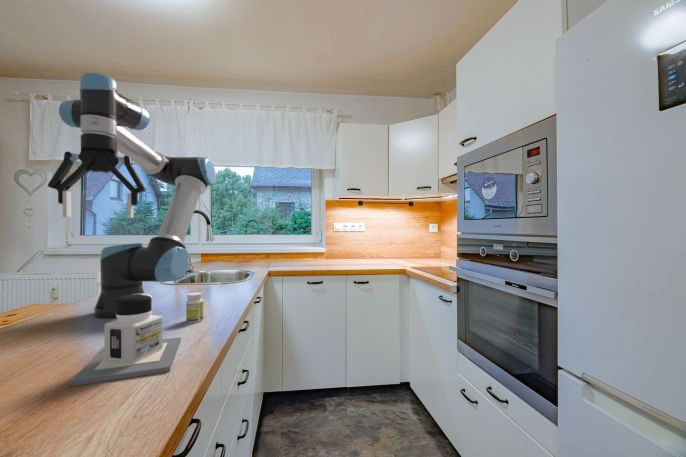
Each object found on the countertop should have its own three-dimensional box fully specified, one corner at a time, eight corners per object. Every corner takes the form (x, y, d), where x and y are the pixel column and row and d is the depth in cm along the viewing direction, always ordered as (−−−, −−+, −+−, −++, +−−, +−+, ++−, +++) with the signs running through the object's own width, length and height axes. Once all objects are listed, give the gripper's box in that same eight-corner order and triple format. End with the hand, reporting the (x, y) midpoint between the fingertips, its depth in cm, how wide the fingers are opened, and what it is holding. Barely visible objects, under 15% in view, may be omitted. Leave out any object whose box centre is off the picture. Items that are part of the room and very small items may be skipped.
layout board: (104, 350, 74) (104, 345, 74) (180, 341, 80) (180, 336, 80) (70, 386, 57) (70, 379, 57) (169, 371, 63) (169, 365, 63)
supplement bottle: (198, 317, 100) (198, 291, 100) (206, 320, 98) (206, 293, 98) (183, 321, 97) (183, 294, 96) (191, 323, 94) (191, 296, 94)
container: (134, 363, 64) (134, 300, 64) (103, 360, 65) (103, 298, 65) (163, 349, 71) (163, 292, 71) (134, 346, 73) (134, 291, 73)
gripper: (29, 126, 73) (29, 216, 73) (151, 137, 82) (152, 217, 83) (45, 134, 80) (46, 217, 80) (156, 144, 89) (157, 218, 90)
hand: (99, 217), depth 81 cm, fingers open, 13 cm apart
